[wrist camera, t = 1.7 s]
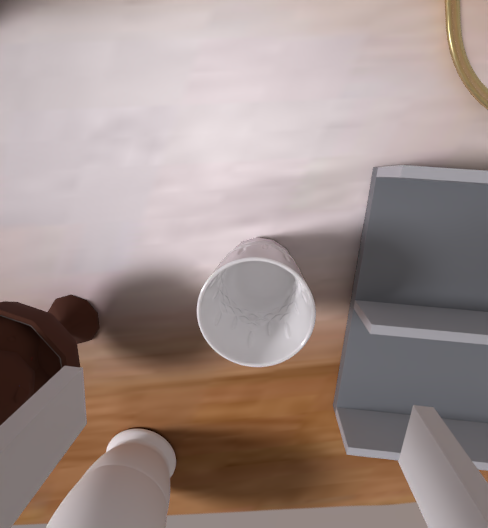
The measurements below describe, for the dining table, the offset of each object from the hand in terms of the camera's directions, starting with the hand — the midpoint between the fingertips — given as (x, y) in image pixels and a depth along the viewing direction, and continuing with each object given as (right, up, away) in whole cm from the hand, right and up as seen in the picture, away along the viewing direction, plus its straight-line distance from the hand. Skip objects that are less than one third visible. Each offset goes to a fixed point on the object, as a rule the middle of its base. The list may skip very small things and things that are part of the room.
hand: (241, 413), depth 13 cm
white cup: (+2, +5, +18) cm, 19 cm away
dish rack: (+19, +2, +18) cm, 26 cm away
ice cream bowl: (-18, 0, +21) cm, 27 cm away
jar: (-12, -17, +25) cm, 33 cm away
